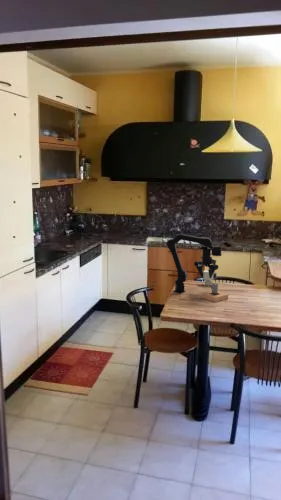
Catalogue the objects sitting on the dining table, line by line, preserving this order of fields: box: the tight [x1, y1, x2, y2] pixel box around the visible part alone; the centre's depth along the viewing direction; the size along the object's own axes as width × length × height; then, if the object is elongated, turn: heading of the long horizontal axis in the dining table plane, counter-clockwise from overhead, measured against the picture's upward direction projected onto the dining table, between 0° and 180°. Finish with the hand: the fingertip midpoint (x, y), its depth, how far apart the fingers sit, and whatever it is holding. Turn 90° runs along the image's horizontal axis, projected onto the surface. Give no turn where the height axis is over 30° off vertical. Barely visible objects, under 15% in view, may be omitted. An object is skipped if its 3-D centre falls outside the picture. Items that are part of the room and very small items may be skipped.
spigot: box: [211, 282, 219, 295], centre depth 278 cm, size 4×4×10 cm
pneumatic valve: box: [200, 269, 217, 286], centre depth 310 cm, size 6×12×12 cm, turn 77°
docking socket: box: [200, 290, 229, 303], centre depth 278 cm, size 13×13×3 cm
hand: (205, 276), depth 287 cm, fingers open, 9 cm apart
